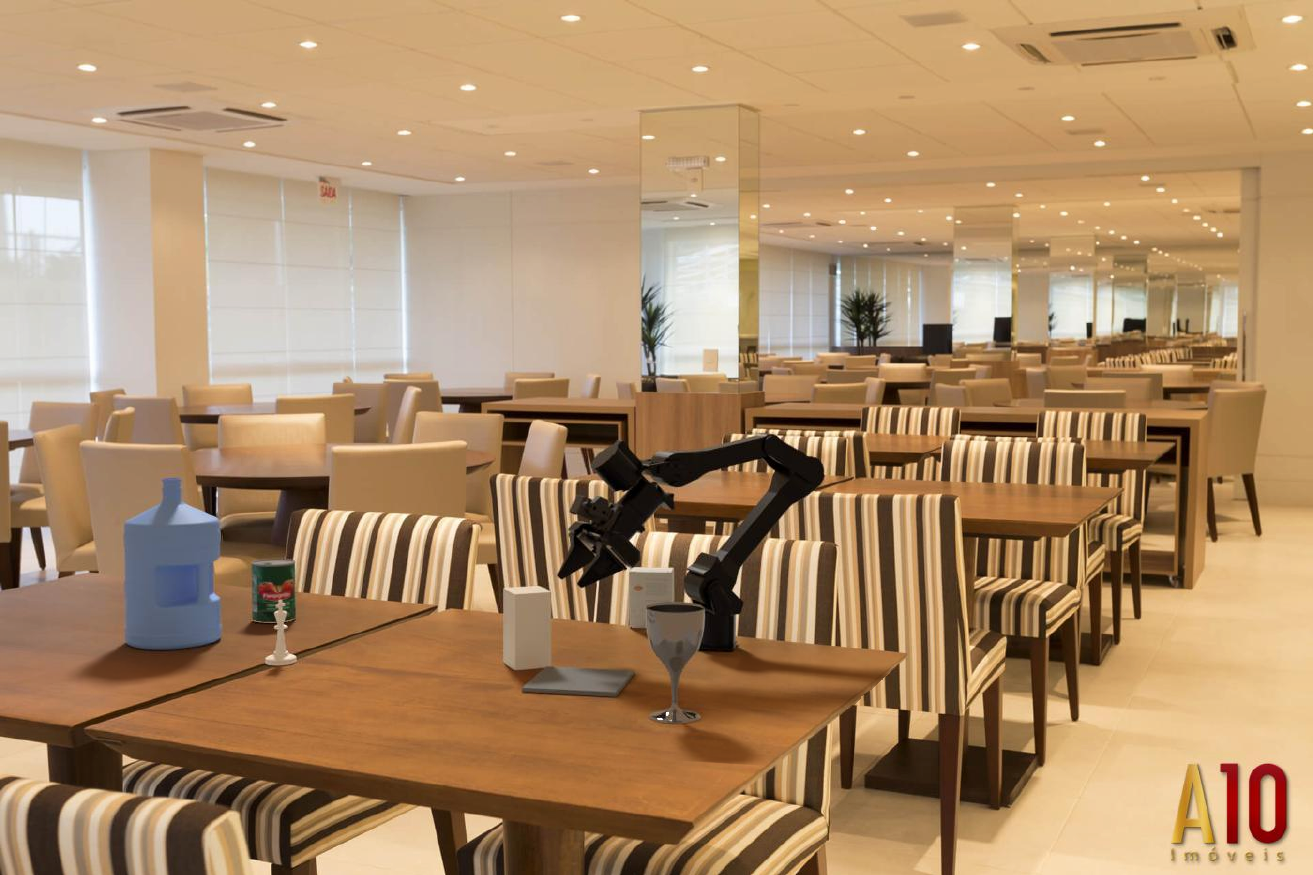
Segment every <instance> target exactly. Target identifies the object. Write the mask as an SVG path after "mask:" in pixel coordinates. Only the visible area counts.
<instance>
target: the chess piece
mask: <svg viewBox="0 0 1313 875" xmlns="http://www.w3.org/2000/svg"><path fill="white" fill-rule="evenodd" d="M283 606H285V603H282V600H278V604H277V605H276V608H279V610H278V611H276V612H274V615H275V618H276V621H277V624H276V625H274V627H273V629H274V630H277V633H276V642H275V643H276V644H275V649H274V651H273V652H272V653H273V654H271V655H268V656H266V657H265V661H264V664H266V665H269V666H287V665H292V664H295V663H297V661H298V660H297V656H296V655H294V654H292V653H289V651H288V650H287V646H286V639H285V630H286V629H288V625H286V624H285V623H284V622H285V618H286V615H287V612H286V611H283V609H282V607H283Z"/></svg>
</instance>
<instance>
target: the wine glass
mask: <svg viewBox="0 0 1313 875" xmlns="http://www.w3.org/2000/svg"><path fill="white" fill-rule="evenodd" d="M704 621H705V608H704V606H702V605H699V604H694V603H692V602H684V601H683V602H682V601H681V602H680V601H674V602H663V603H655V604H651V605H648V606H647V607H646V626H647V628H646V633H647V639H648V643H649V646H650V649H651V650H652V652H653V654H655V656H656V657H657V658H658V659H659V660H660V661H661V663H662V664H663V665H664V666H665V668H666V670H667V672H668V676H669V678H670V686H671V705H670V707H669V708H667V709H660V710H656V711H653V712H652V711H651V712H650V713H649V715H648V718H649V720H651V721H653V722H657V723H661V724H670V725H676V724H678V725H679V724H680V725H681V724H690V723H694V722H697V721H699V720H700V719H701V718H702V717H701V715H700V714H699V713H698V712H696V711H692V710H687V709H681V708H680V707H679V703H678V702H679V701H678V696H679V693H678V692H679V683H680V677H681V674H682V672H683V670H684V668H685V667H686V666H687V665H688V663H689V662H690V661H691V660H692V658H693V657H694V656H695V655H696V654H697V653H698V651H699V650H700V649H699V647H700V645H701V641H702V637H703V631H704Z"/></svg>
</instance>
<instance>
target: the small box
mask: <svg viewBox="0 0 1313 875" xmlns="http://www.w3.org/2000/svg"><path fill="white" fill-rule="evenodd" d="M628 583H629V584H628V587H629V588H628V589H629V590H628V594H629V595H628V597H629V598H628V604H629V605H628V606H629V608H628V611H629V613H628V614H629V615H628V616H629V619H628V621H629V622H628V623H629V628H630V627H634V628H633V629H647V626H646V607H647V606H648V605H651V604H655V603H663V602H675V568H674V567H649V566H648V567H647V566H646V567H643V566H642V567H641V566H639V567H638V566H636V567H635V566H634V567H633V569H632V568H630V570H629V572H628Z"/></svg>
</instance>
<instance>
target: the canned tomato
mask: <svg viewBox="0 0 1313 875" xmlns="http://www.w3.org/2000/svg"><path fill="white" fill-rule="evenodd" d="M250 564H251V613H252V619H253V620H256V621H261V622H277V621H276V618H275V615H274V612H276V611H278V610H279V608H276V605H277V604H278V600H282V603H285V606H283V607H282V609H283V611H286V612H287V615H286V618H285V621H287V620H291V619H295V618H296V619H297V616H296V614H297V613H296V610H297V609H296V605H297V604H296V602H297V601H296V594H297V593H296V560H294V559H290V558H265V559H257V560H256V559H255V560H253V561H251V563H250ZM252 619H251V620H252Z"/></svg>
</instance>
